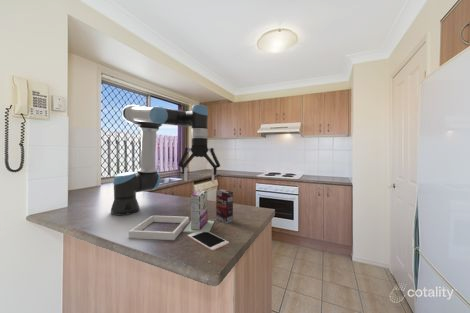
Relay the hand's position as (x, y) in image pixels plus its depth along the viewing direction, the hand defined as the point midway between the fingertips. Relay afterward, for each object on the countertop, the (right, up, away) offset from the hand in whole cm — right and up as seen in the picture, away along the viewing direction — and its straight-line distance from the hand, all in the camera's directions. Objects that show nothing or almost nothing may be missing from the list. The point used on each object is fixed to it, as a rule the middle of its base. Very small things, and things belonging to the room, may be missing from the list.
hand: (199, 181), depth 97 cm
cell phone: (+6, -24, -13) cm, 28 cm away
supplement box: (+12, -23, +10) cm, 27 cm away
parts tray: (-17, -23, -3) cm, 29 cm away
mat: (0, -23, +1) cm, 23 cm away
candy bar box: (0, -22, +1) cm, 22 cm away
